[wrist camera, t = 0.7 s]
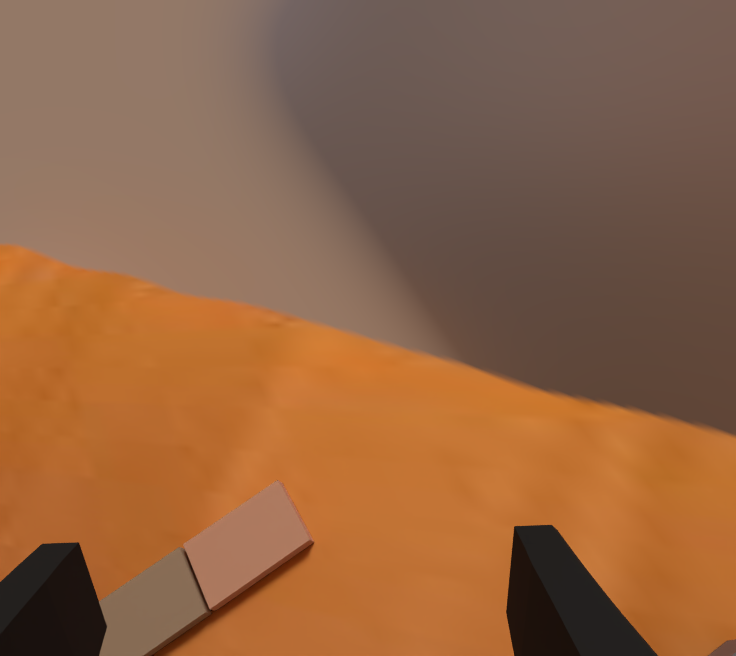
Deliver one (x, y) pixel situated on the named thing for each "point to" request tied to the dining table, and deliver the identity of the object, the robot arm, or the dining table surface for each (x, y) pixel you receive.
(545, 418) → the dining table surface
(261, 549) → the track tiles
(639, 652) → the robot arm
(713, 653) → the dome housing
